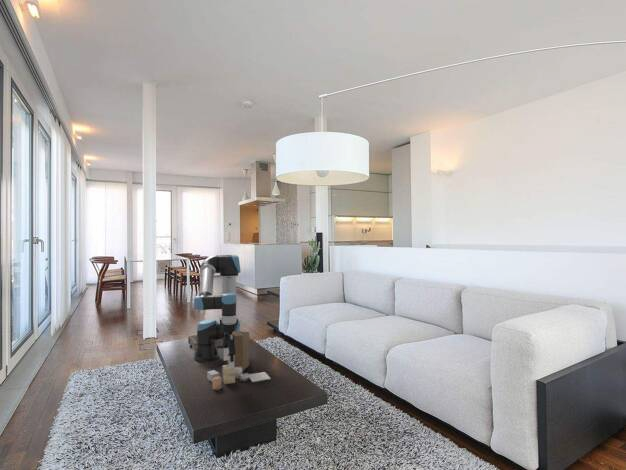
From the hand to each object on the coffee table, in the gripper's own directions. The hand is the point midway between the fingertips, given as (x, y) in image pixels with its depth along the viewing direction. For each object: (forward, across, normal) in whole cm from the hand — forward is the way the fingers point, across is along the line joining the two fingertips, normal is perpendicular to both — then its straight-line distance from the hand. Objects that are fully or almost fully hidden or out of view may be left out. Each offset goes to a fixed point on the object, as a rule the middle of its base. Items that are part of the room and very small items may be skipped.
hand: (228, 363), depth 190 cm
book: (+9, -76, +4) cm, 77 cm away
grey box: (+9, -6, -7) cm, 13 cm away
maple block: (+9, 0, 0) cm, 9 cm away
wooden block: (+9, -18, +9) cm, 23 cm away
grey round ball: (+10, 0, +8) cm, 12 cm away
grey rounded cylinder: (+9, -4, +6) cm, 12 cm away
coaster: (+9, 0, +16) cm, 19 cm away
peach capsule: (+10, +6, -7) cm, 13 cm away
